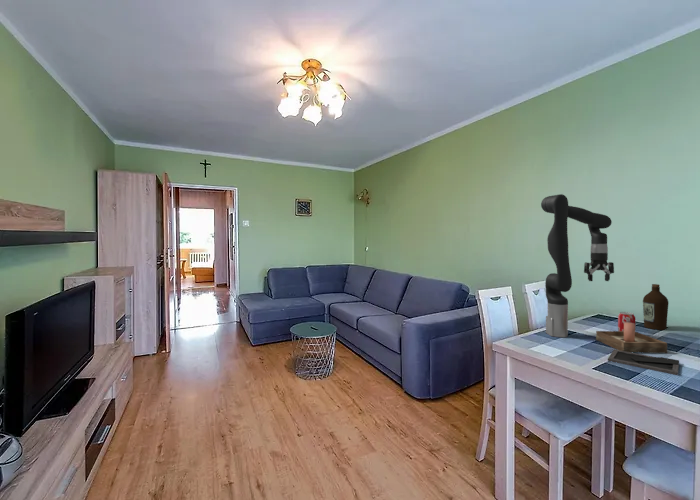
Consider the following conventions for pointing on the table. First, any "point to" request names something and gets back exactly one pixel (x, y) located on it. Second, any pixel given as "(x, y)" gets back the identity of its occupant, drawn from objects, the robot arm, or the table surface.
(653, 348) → the wooden tray
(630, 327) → the dowel peg
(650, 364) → the picture frame
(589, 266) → the robot arm
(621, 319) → the soda can
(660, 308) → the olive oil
